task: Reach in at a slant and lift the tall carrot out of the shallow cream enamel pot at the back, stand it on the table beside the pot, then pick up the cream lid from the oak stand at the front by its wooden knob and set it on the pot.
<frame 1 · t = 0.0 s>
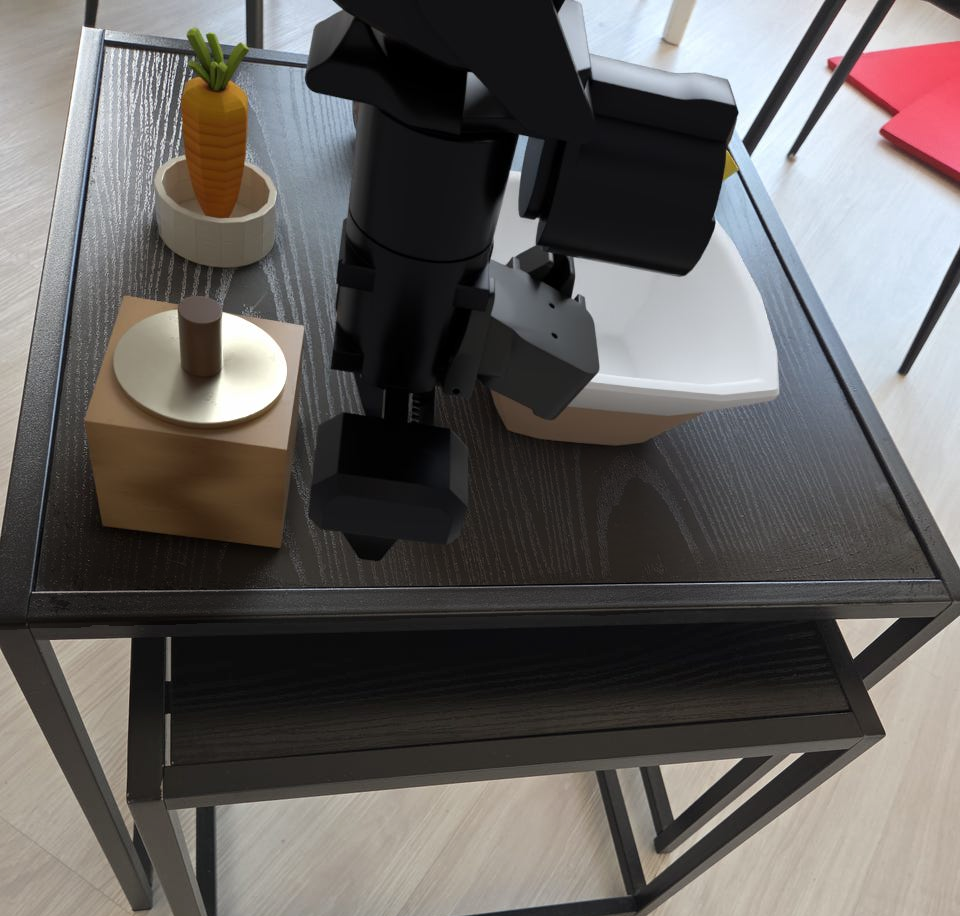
hand: (374, 488, 49), 12 cm above the table, tool pointing down, fingers open, 9 cm apart
teapot: (621, 243, 89), on the table
lid: (202, 369, 56), point 9 cm above the table, touching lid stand
pot: (217, 232, 77), on the table
carrot: (217, 229, 77), resting in pot
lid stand: (206, 474, 63), on the table
egg: (401, 212, 84), on the table
potato: (671, 170, 99), on the table
vase: (384, 148, 90), on the table
bowl: (565, 389, 76), on the table
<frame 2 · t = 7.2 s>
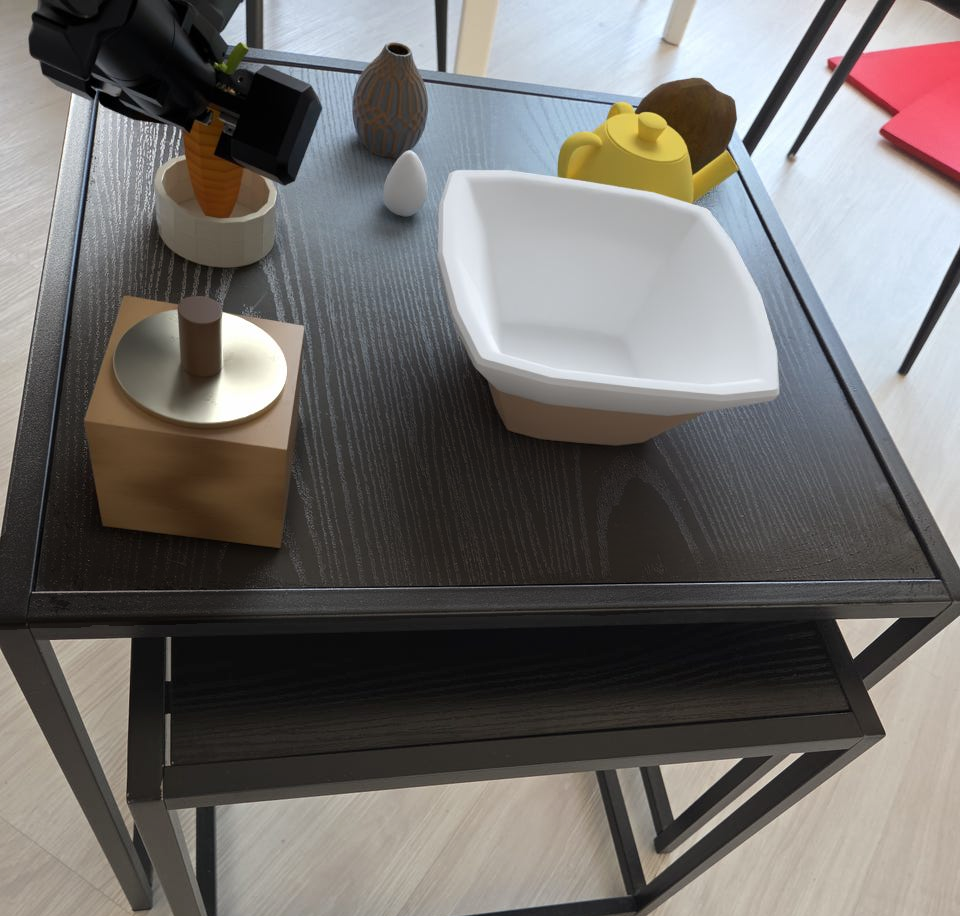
hand: (225, 134, 72), 8 cm above the table, tool tilted 45°, fingers closed on carrot, 5 cm apart
carrot: (217, 229, 77), resting in pot, touching gripper
everything else where it was.
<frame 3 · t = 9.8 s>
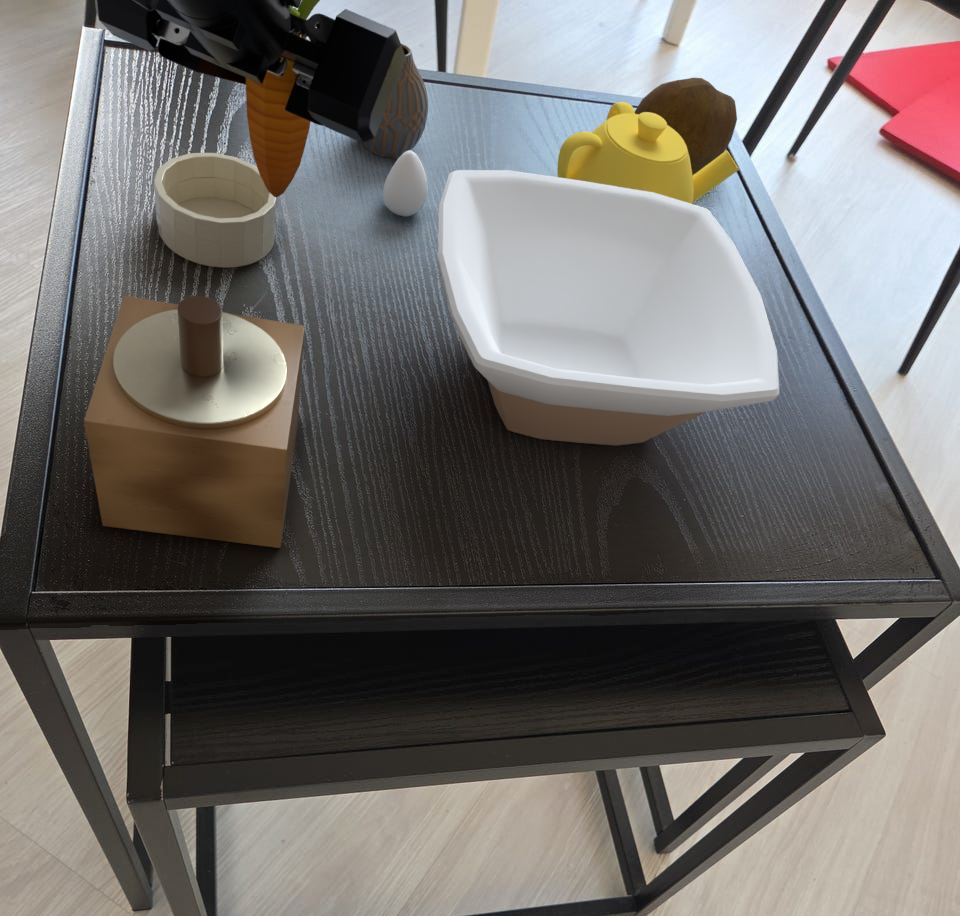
hand: (289, 93, 66), 13 cm above the table, tool tilted 45°, fingers closed on carrot, 5 cm apart
carrot: (275, 198, 71), point 6 cm above the table, touching gripper
everything else where it was.
when the fingers open (7 cm above the table, at t = 12.8 s): carrot stays where it is, on the table.
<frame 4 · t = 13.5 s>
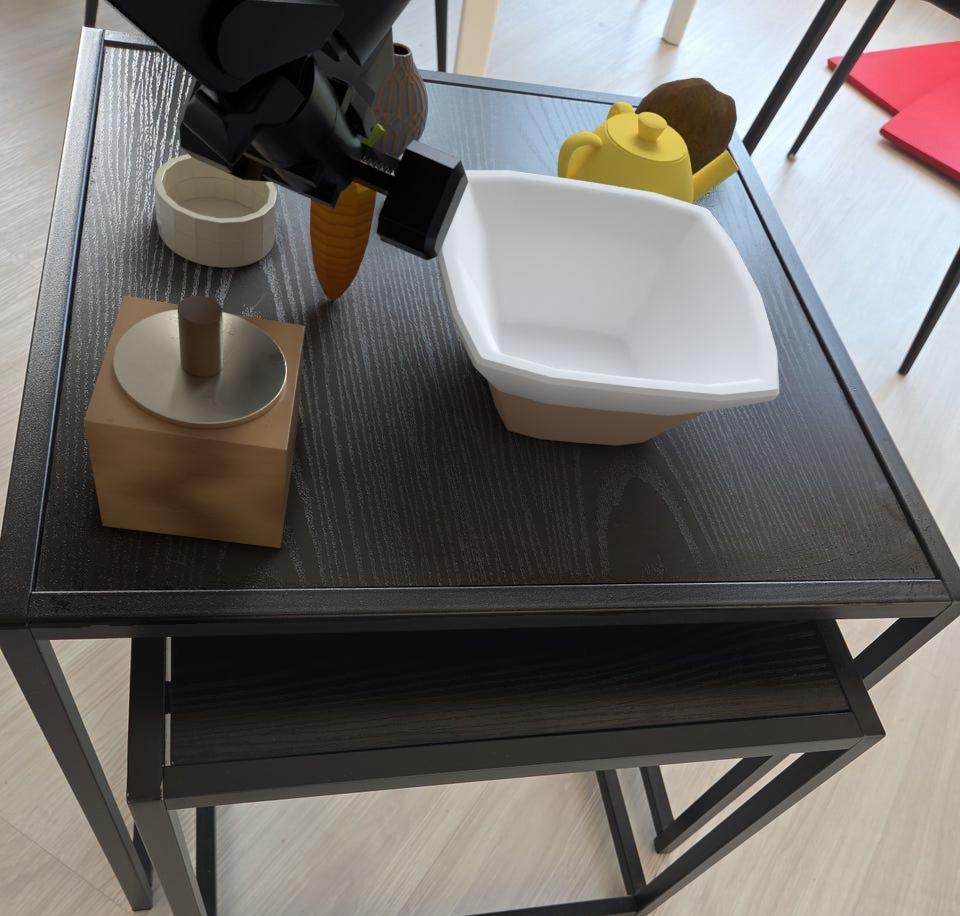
hand: (352, 200, 70), 8 cm above the table, tool tilted 45°, fingers open, 9 cm apart
carrot: (332, 301, 76), on the table
everything else where it was.
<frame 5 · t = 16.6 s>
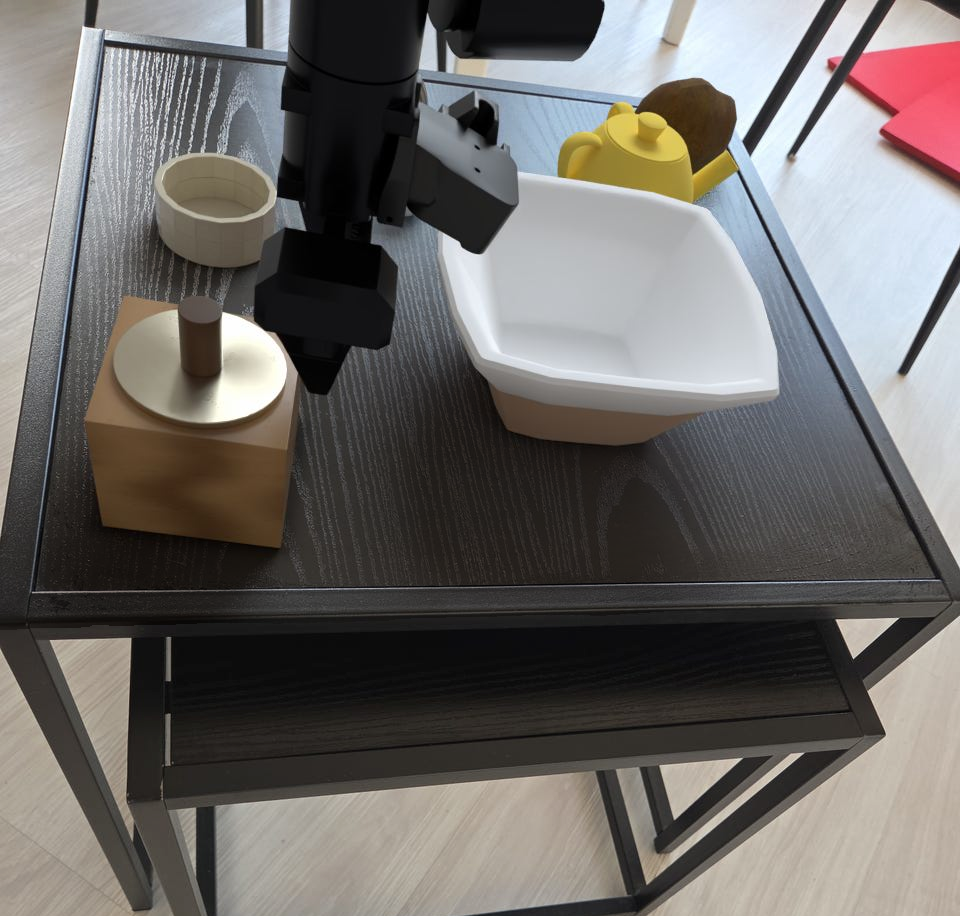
hand: (325, 337, 54), 13 cm above the table, tool pointing down, fingers open, 9 cm apart
nothing on the table moved.
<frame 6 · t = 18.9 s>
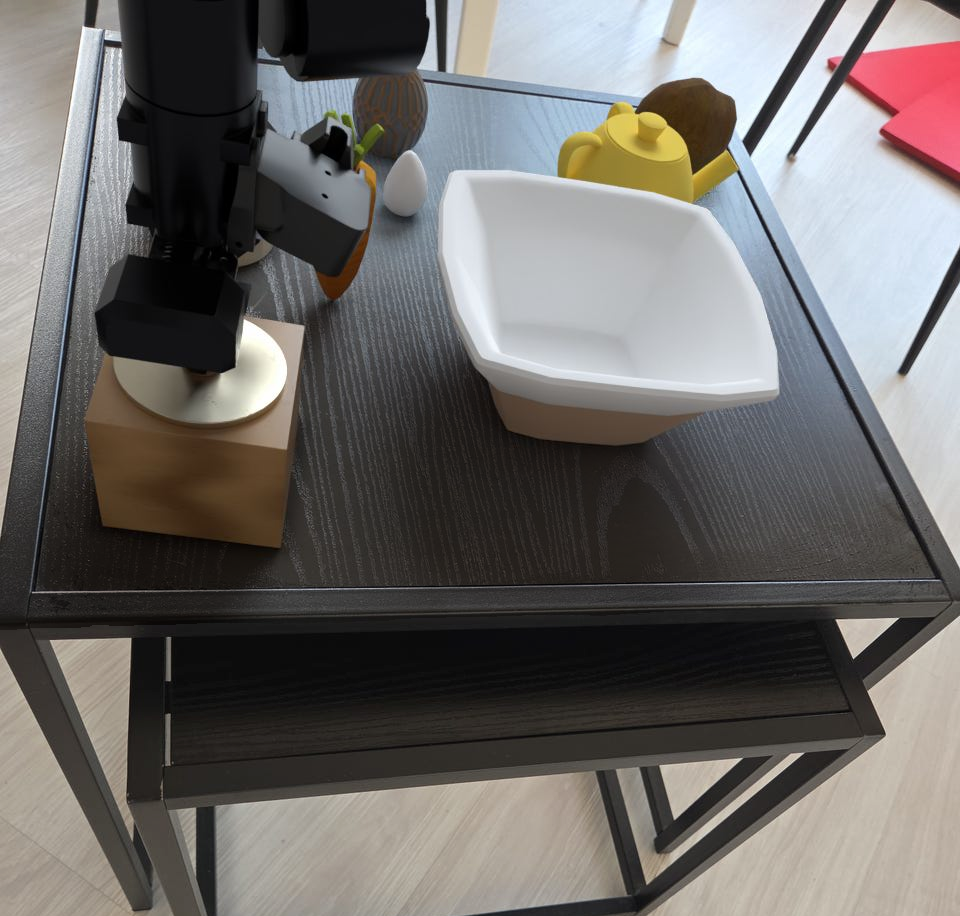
hand: (201, 356, 55), 10 cm above the table, tool pointing down, fingers closed on lid, 2 cm apart
lid: (202, 369, 56), point 9 cm above the table, touching gripper, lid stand
everything else where it was.
when the fingers open (5 cm above the table, at t = 24.6 s): lid stays where it is, resting on pot.
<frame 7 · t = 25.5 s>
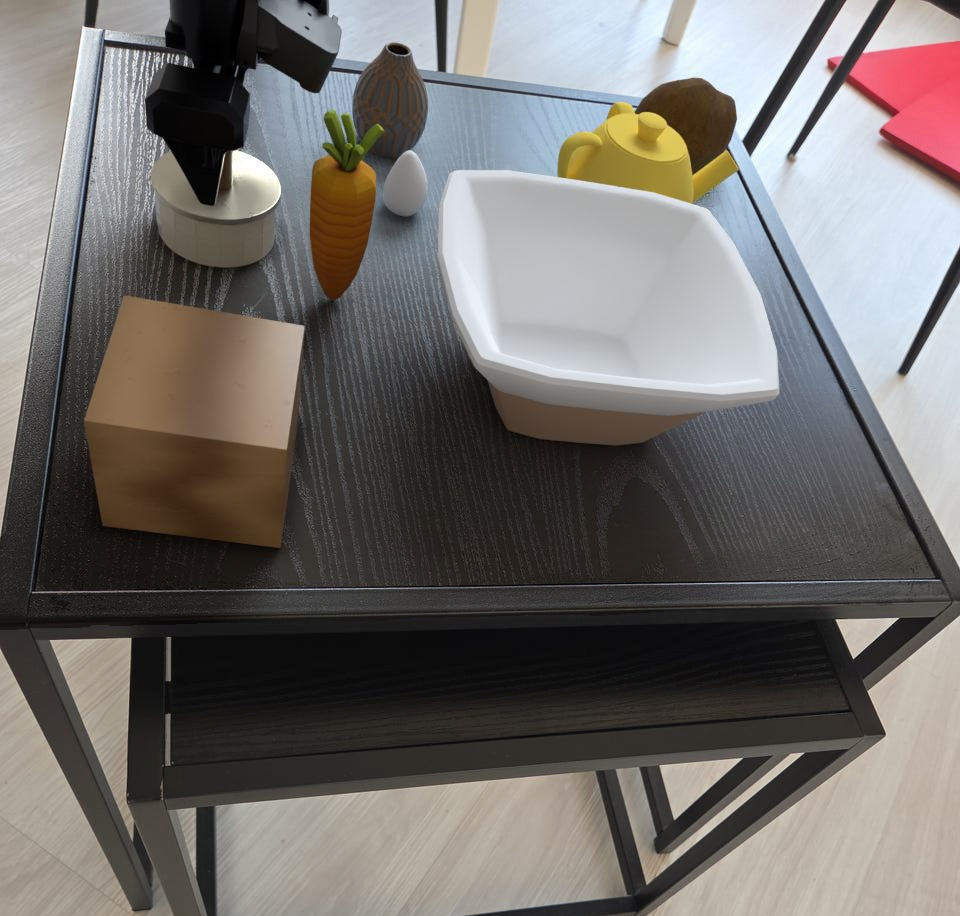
hand: (216, 169, 73), 5 cm above the table, tool pointing down, fingers open, 9 cm apart
lid: (217, 186, 74), point 4 cm above the table, touching pot
everything else where it was.
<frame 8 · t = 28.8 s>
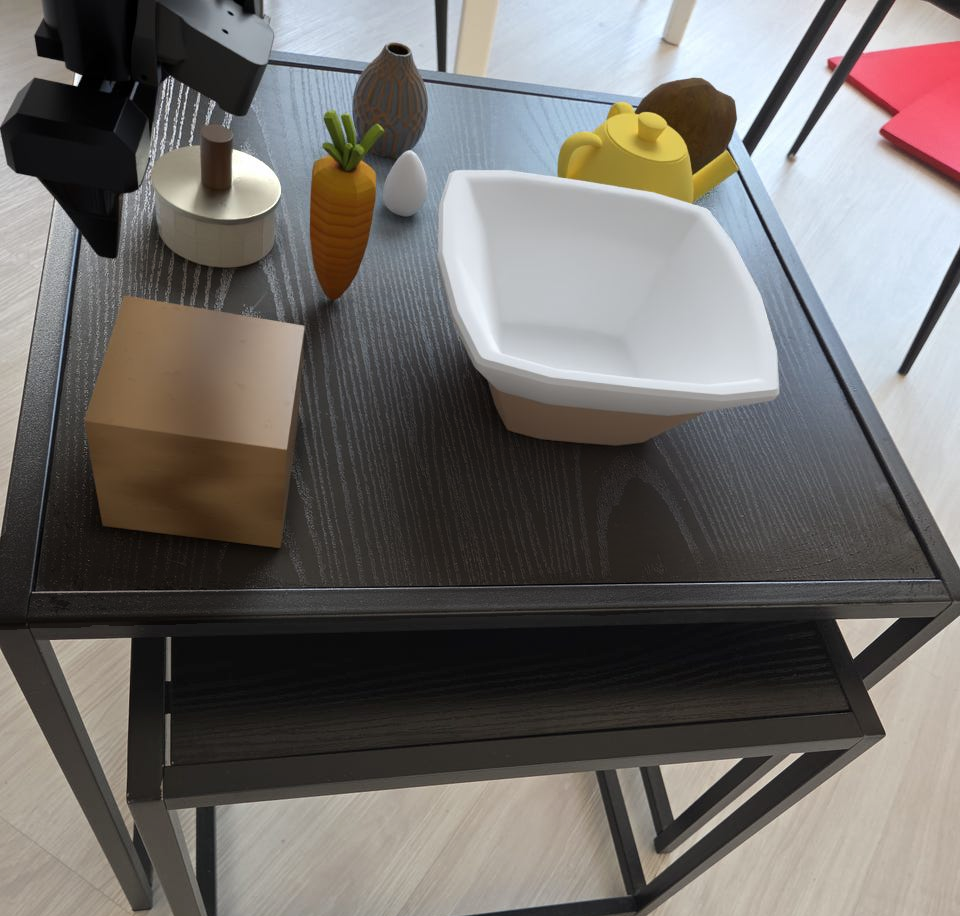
hand: (123, 210, 57), 12 cm above the table, tool pointing down, fingers open, 9 cm apart
nothing on the table moved.
at the end: carrot inside the target area (0.2 cm from its centre), on the table; carrot tilted 0°; lid 0.1 cm off-centre on the pot, point 4.0 cm above the pot's base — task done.
